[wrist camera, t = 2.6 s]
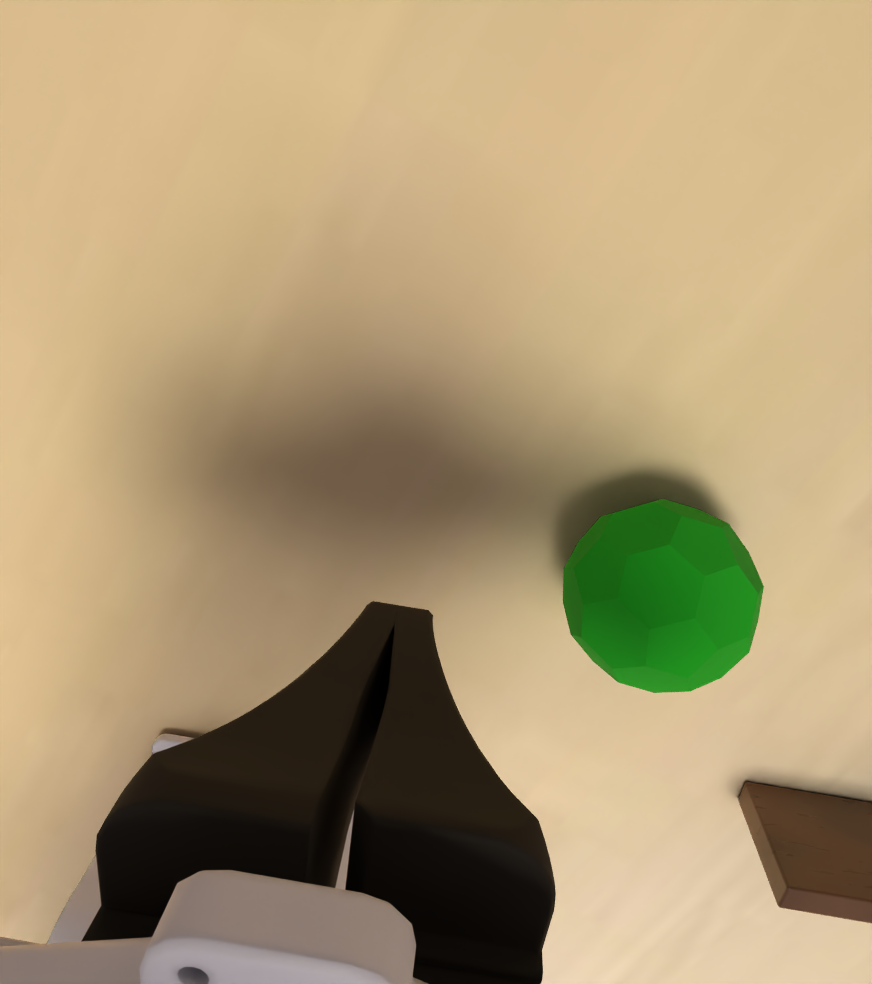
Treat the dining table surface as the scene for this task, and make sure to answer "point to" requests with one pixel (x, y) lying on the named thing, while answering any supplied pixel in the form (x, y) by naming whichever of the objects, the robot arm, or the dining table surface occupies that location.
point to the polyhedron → (662, 596)
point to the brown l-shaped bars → (813, 849)
